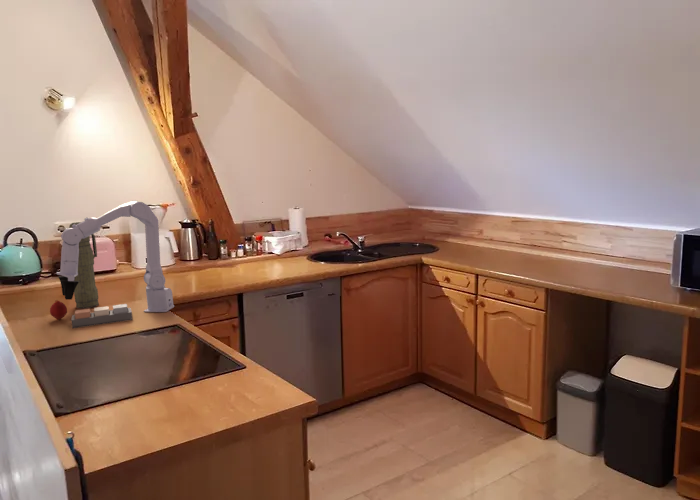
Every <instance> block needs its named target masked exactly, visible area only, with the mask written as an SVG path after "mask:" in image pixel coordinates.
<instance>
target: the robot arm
mask: <svg viewBox="0 0 700 500" xmlns="http://www.w3.org/2000/svg"><path fill="white" fill-rule="evenodd" d="M121 217H124V218H125V217H126V218H127V217H128V218H129V217H130V218H131V217H133V218H134V219H137V220H138V221H140V222H141V223H142V224H144V228H145V229H144V230H145V231H144V232H145V251H146V266H145V273H144V275H143V281H144V283H145V284H146V287H145V294H146V303H147V309H144V310H143V312H144V313H166V312H169V311H170V310H172V309H173V308H174V307H175V305H174V298H173V291H172V289H171V288H169V287H165V284H166V277H165V275H164V273H163V268H162V265H161V252H160V251H161V250H160V248H161V247H160V232H159V231H160V230H159V229H160V227H159V219H158V217H157V216H156V214H155V213H154V211H153V210H152V208H151V207H150V206H149V205H148V204H147V203H145V202H142V201H138V200H131V201H128V202H125V203H123V204H120V205H119V206H117V207H115V208H113V209H112V210H109V211H108V212H105V213H103V214H102V215H100V216H98V217H97V218H96V217H93V216H91V217H86V218H84V219H83V221H80V222H81V223H79V224H77V225H75V224H74V225H72V227H73V228H69V227H68V228H65V229H64V230H63V231H62V233H61V235H60V237H61V239H62V243H61V245H62V246H61V254H60V255H61V256H60V271H56V275H58V279H59V282H60V286H61V294H62V296H64V298H65V300H69V301H70V300H73V297H74V291H75V288H76V286H77V285H78V283H79V281H74V279H75V277H76V276H77V275H78V273H77V272H78V257H79V242H80V241H81V239H84V238H86V237H88V236H90V235H92V234H94V235H95V234H96V233H98V232H99V231H100V230H101V227H102V226H104V225H107V224H109V223H110V222H112V221H113V222H114V221H115V220H117V219H119V218H121ZM90 237H91V236H90Z"/></svg>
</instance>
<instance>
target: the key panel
mask: <svg viewBox="0 0 700 500" xmlns="http://www.w3.org/2000/svg"><path fill="white" fill-rule="evenodd" d="M127 308H128V312H125V313H118V314H114V312H113V309H112V310H110V309H109V315H103V316H95V314H94V311H93V312H90V313H91V317H88V318H80V319H75V314H72V316H71V319H70V322H71V328H72V329H78V328H85V327H86V328H87V327H90V326H93V327H94V326H98V325H99V326H100V325H107V324H113V323H121V322H127V321H132V320H133V313H132V308H131V307H127Z"/></svg>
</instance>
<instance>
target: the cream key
mask: <svg viewBox="0 0 700 500" xmlns="http://www.w3.org/2000/svg"><path fill="white" fill-rule="evenodd" d="M109 310H110V307H109V305H108V306H98V307H93V312H94V314H95V316H103V315H109Z"/></svg>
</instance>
